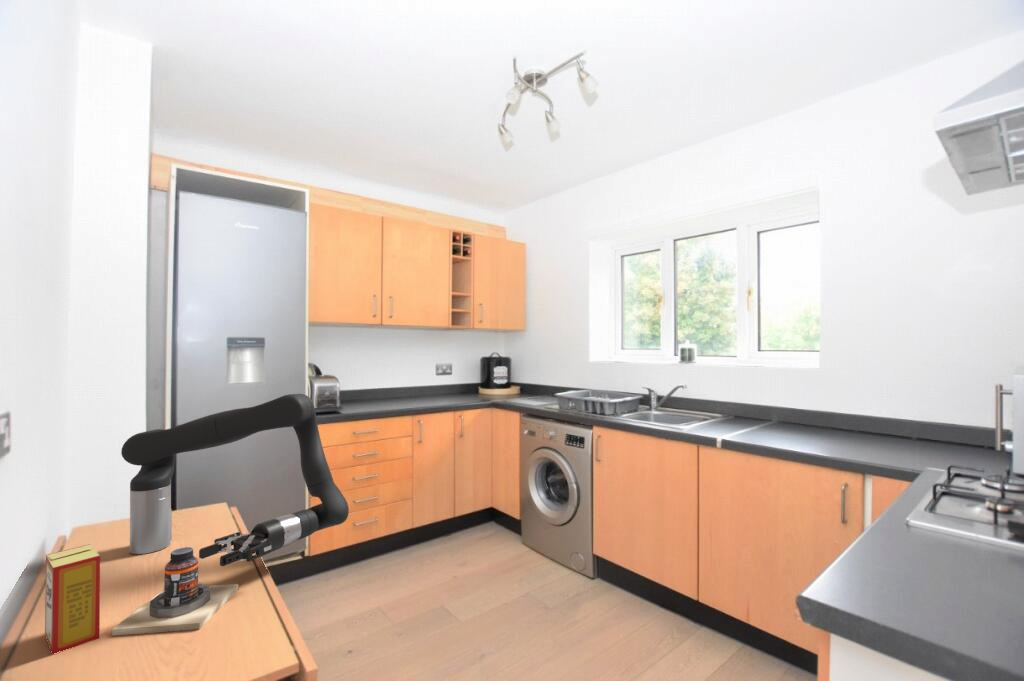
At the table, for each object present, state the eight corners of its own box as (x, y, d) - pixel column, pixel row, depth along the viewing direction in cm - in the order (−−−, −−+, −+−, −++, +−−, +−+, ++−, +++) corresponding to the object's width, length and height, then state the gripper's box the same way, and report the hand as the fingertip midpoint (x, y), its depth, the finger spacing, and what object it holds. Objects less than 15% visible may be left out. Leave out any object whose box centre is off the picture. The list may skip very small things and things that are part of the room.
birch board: (164, 594, 107) (164, 588, 107) (238, 589, 109) (238, 583, 109) (112, 635, 91) (112, 629, 91) (199, 629, 93) (199, 623, 93)
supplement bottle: (180, 613, 96) (180, 557, 97) (156, 610, 98) (156, 555, 98) (204, 598, 102) (205, 545, 103) (182, 595, 103) (182, 544, 104)
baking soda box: (99, 637, 90) (100, 553, 91) (52, 655, 85) (53, 566, 86) (89, 621, 96) (90, 542, 97) (45, 636, 91) (45, 553, 92)
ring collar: (169, 594, 104) (169, 585, 105) (219, 590, 106) (219, 582, 106) (137, 620, 94) (137, 611, 94) (192, 616, 95) (192, 607, 95)
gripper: (260, 514, 123) (193, 535, 109) (294, 522, 116) (228, 547, 102) (260, 543, 123) (193, 568, 109) (295, 553, 116) (228, 582, 102)
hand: (210, 558), depth 105 cm, fingers open, 8 cm apart
